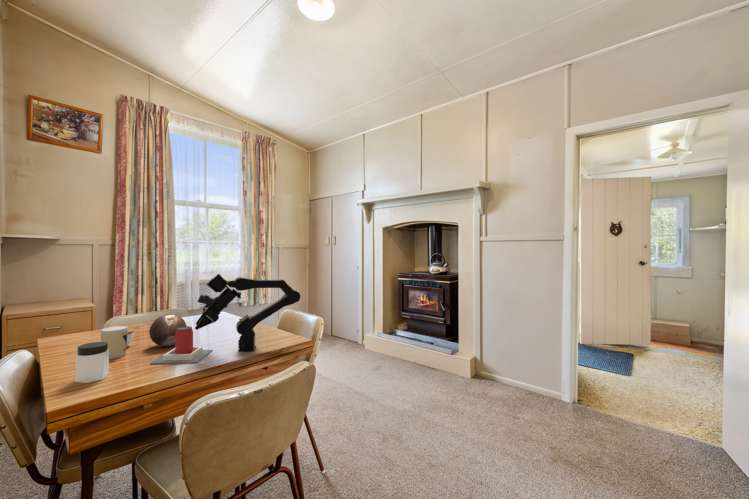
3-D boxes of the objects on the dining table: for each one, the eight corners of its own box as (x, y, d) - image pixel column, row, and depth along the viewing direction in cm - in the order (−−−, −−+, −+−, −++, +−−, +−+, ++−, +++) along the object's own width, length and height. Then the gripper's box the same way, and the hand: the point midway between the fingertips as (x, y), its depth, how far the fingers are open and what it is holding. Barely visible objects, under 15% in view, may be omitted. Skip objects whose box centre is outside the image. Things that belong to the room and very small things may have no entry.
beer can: (196, 354, 138) (196, 327, 139) (181, 359, 133) (181, 330, 133) (186, 352, 141) (186, 325, 141) (171, 356, 135) (171, 328, 135)
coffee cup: (129, 356, 138) (130, 328, 138) (101, 361, 131) (101, 332, 131) (125, 351, 144) (125, 324, 144) (98, 356, 137) (98, 328, 137)
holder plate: (212, 350, 146) (212, 344, 146) (197, 363, 130) (197, 356, 130) (170, 351, 144) (170, 345, 144) (150, 364, 128) (150, 357, 128)
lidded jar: (104, 346, 150) (104, 327, 150) (133, 342, 157) (133, 323, 157) (104, 352, 142) (104, 331, 142) (134, 348, 149) (134, 328, 149)
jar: (106, 372, 120) (106, 340, 120) (111, 377, 114) (111, 344, 114) (73, 379, 113) (74, 345, 113) (77, 385, 108) (77, 350, 108)
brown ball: (158, 352, 143) (159, 319, 143) (143, 347, 151) (143, 315, 151) (192, 344, 155) (193, 313, 155) (176, 339, 163) (177, 310, 163)
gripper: (209, 285, 150) (182, 311, 145) (209, 290, 133) (178, 319, 128) (228, 301, 153) (202, 326, 148) (230, 307, 137) (201, 336, 132)
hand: (195, 326), depth 139 cm, fingers open, 9 cm apart
